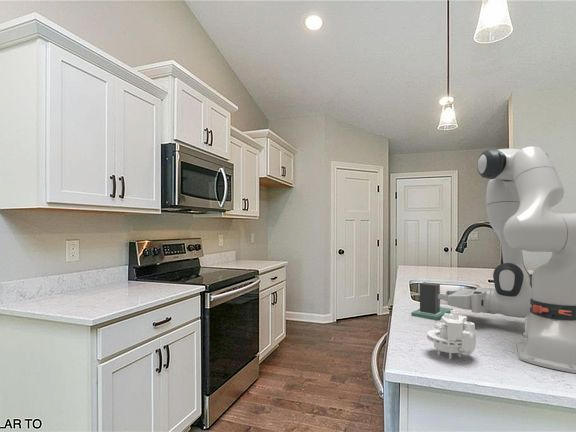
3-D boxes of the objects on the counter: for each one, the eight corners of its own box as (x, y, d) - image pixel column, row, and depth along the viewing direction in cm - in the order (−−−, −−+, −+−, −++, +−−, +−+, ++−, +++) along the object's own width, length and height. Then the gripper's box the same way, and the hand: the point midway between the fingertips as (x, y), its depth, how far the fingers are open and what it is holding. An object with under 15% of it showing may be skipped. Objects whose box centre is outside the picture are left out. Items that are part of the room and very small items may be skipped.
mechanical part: (432, 345, 102) (432, 304, 103) (478, 354, 96) (478, 310, 96) (422, 357, 93) (422, 312, 94) (472, 367, 86) (472, 319, 87)
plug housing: (435, 314, 134) (435, 285, 134) (419, 311, 138) (419, 283, 138) (439, 311, 137) (439, 283, 138) (424, 309, 141) (424, 282, 142)
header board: (437, 320, 130) (437, 311, 130) (411, 315, 136) (411, 307, 136) (452, 311, 143) (452, 303, 143) (428, 307, 150) (428, 300, 150)
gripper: (489, 287, 133) (451, 283, 142) (475, 295, 118) (433, 289, 127) (489, 304, 133) (451, 298, 142) (475, 313, 117) (433, 307, 127)
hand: (442, 294), depth 134 cm, fingers open, 8 cm apart
